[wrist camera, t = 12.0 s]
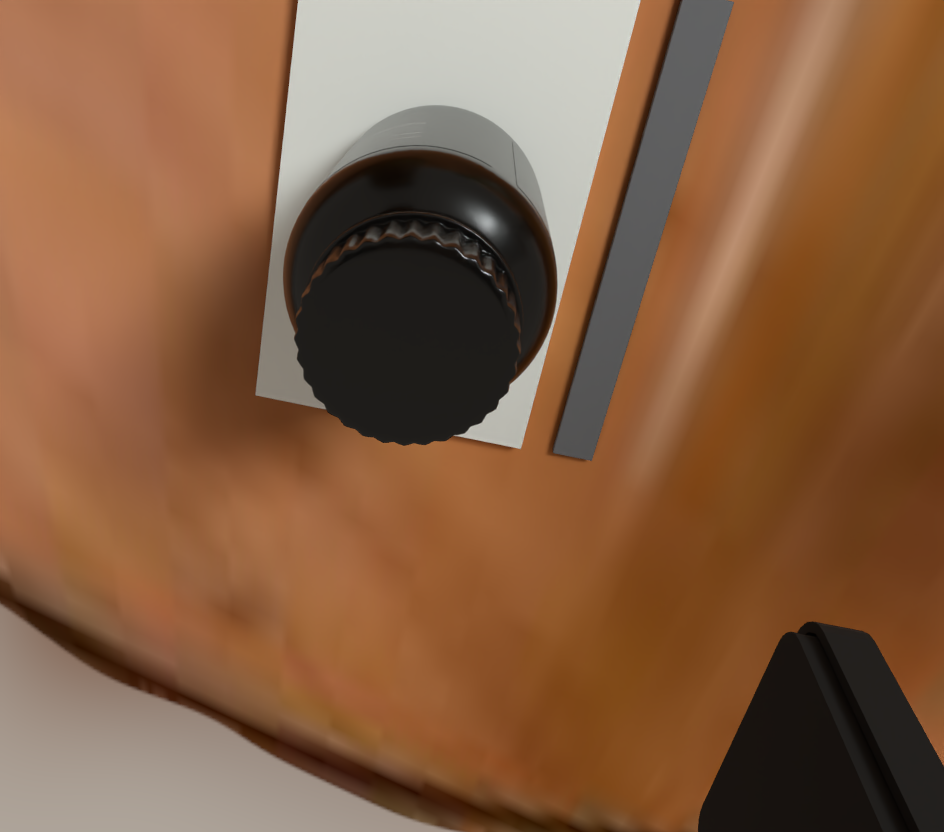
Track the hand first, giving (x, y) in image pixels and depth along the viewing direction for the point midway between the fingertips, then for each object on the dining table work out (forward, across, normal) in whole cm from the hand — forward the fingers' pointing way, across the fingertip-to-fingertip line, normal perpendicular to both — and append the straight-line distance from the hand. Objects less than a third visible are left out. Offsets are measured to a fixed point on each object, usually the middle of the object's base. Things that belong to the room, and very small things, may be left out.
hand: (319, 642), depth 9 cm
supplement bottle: (+22, 0, +1) cm, 22 cm away
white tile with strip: (+22, -1, +1) cm, 22 cm away
